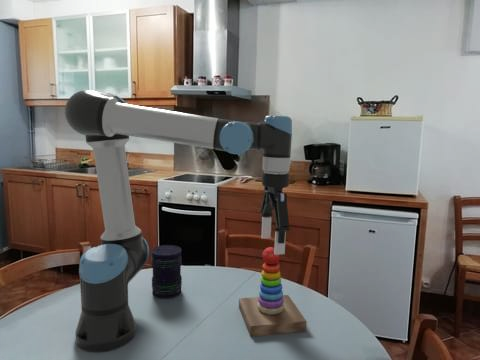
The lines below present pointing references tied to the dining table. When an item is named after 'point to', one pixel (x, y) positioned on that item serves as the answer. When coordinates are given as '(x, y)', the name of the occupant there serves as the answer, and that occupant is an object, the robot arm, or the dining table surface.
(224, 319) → the dining table surface
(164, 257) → the storage jar
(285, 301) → the walnut base
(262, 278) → the stacking toy
